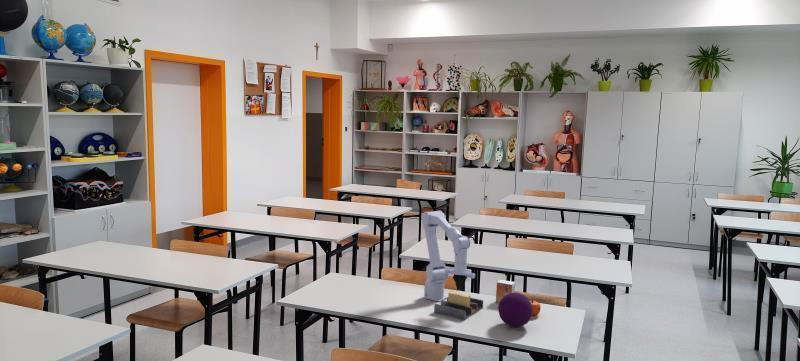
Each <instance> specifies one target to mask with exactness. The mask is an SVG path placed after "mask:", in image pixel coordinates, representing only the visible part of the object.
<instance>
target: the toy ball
mask: <svg viewBox="0 0 800 361" xmlns="http://www.w3.org/2000/svg"><path fill="white" fill-rule="evenodd" d="M530 301H531V300H530V299H529V298H528V297H527V296H526V295H524V294H523V293H520V292H516V291H515V292H514V293H509V294H507V295H505V296H504V297H503V298H502V299H501V301H500V303H498V307H497V311H498V315H499V318H500V319H501V320H502V322H503V323H504V324H505V325H507V326H509V327H512V328H520V327H523V326H525V325H526V324H528V323H529V322H530V320H531V319H532V313H533V308H532V305H531V302H530Z"/></svg>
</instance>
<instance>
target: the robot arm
mask: <svg viewBox="0 0 800 361" xmlns="http://www.w3.org/2000/svg"><path fill="white" fill-rule="evenodd" d="M445 217H446V216H445V213H444V212H443V211H442V210H436V211H424V212H423V213H422V215H421V223H422V228H423V230H424V234H425V239H426V245H427V251H428V252H427V253H428V256H429V263H428V265H427V266H426V280H425V283H424V288H423V289H424V293H423V297H422V298H423V299H427V300H430V301H435V302H440V303H441V300H443V301H445V299H446V300H447V297H448V296H446V295H445V282H446V280H447V279H448V277H449V274H451V275H453V276H452V279H453V281H454V283H455V286H456V292H457V291H459V292H461V291H463V288H464V285H465V282H466V280H467V279H468V278H471V279H475V278H476V274H475V273H474V272H470V271H467V266H468V264H467V263H468V249H469V248H470V246H471V241H470V238H469V237H468V236H466V235H462V234H461V233H460V231H459V230H458V229H457V228H456V227H454V226H451V224H449V222H448V221H447V219H446V218H445ZM439 227H440V228H441V229H442V230H443V231H444V232H445V236H446V237H447V239H448V240H450V242H451V243H452V247H453V253H454V263H453V264H454V267H453V268H447V266H446V263H444V262H443V261H441V255H440V249H439V244H438V238H437V232H436V231H437V229H438V228H439Z"/></svg>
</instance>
